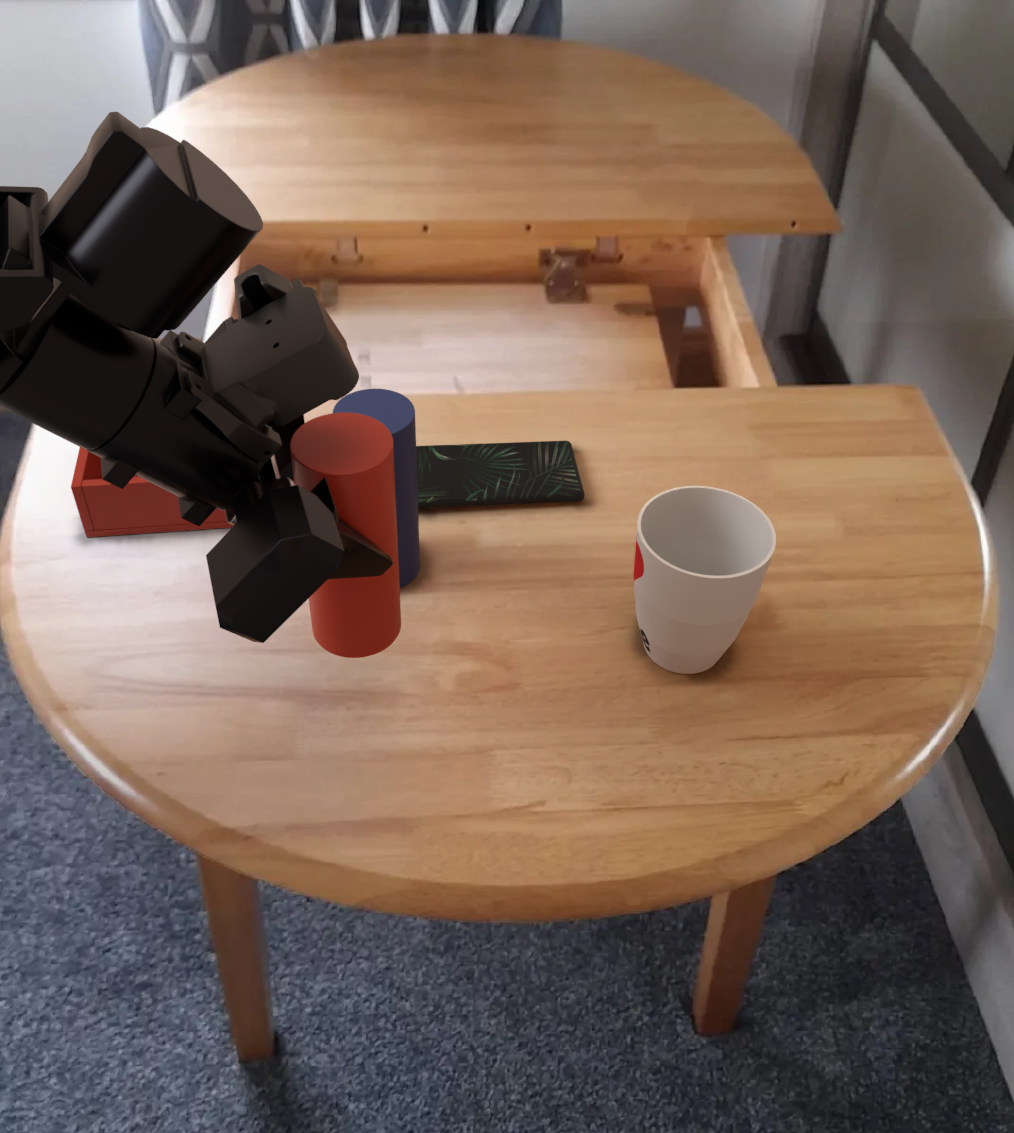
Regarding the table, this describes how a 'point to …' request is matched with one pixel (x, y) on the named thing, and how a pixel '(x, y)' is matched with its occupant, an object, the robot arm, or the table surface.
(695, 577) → the cup
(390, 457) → the red cylinder
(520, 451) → the smartphone
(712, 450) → the table surface
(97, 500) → the red bin
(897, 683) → the table surface
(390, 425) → the navy cylinder
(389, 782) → the table surface
